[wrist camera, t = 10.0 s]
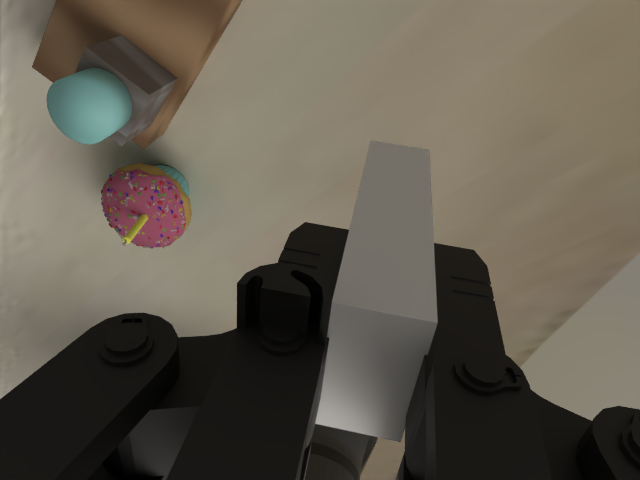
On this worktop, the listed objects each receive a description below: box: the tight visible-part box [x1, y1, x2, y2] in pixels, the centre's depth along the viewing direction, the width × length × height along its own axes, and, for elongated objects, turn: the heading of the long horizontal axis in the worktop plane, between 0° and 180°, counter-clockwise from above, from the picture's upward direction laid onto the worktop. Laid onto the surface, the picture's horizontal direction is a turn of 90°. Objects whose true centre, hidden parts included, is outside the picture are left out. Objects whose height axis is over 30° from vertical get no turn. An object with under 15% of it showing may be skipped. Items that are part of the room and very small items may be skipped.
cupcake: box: [101, 163, 192, 248], centre depth 44 cm, size 9×8×12 cm
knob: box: [47, 68, 132, 144], centre depth 36 cm, size 5×5×8 cm
